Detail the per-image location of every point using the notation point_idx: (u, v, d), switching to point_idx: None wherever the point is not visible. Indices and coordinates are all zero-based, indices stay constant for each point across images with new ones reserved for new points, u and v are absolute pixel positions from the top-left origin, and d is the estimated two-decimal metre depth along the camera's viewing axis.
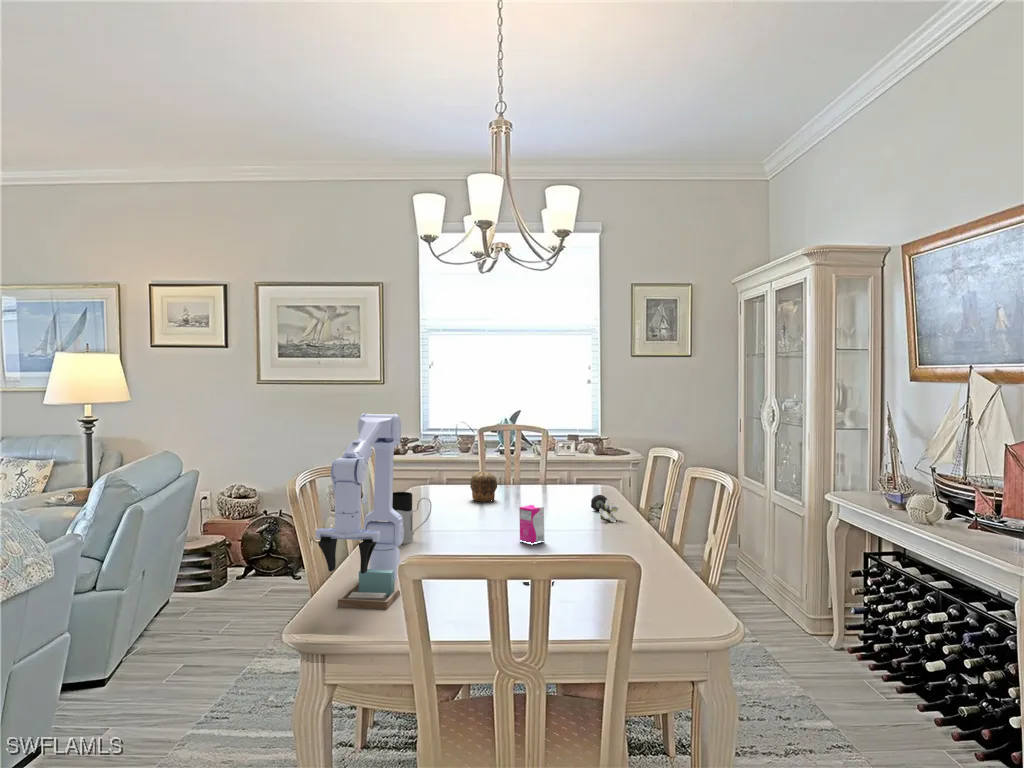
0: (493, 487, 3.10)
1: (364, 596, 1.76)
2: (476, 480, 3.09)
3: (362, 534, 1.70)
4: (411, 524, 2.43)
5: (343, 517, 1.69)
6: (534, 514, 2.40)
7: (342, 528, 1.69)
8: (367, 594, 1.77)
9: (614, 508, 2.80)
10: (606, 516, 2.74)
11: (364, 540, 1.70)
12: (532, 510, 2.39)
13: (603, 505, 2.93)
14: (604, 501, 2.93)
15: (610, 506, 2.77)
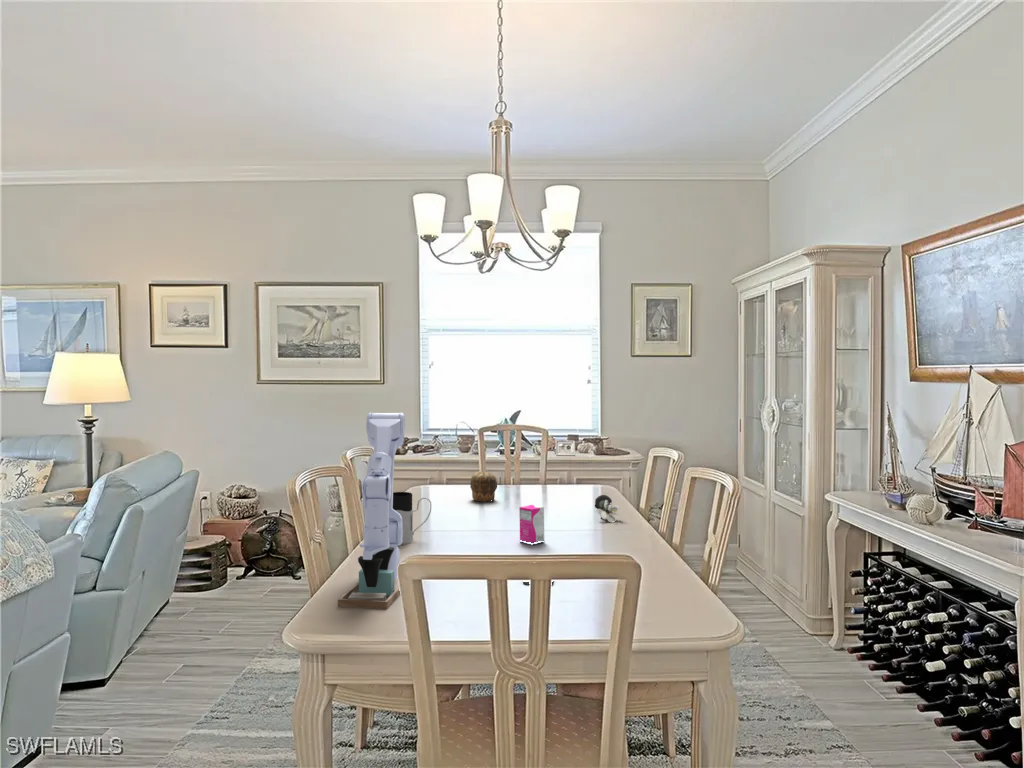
0: (493, 487, 3.10)
1: (364, 596, 1.75)
2: (476, 480, 3.09)
3: (364, 549, 1.80)
4: (411, 524, 2.43)
5: None
6: (534, 514, 2.40)
7: None
8: (367, 594, 1.77)
9: (614, 508, 2.79)
10: (604, 516, 2.74)
11: None
12: (532, 510, 2.39)
13: (607, 505, 2.93)
14: (608, 501, 2.93)
15: (609, 506, 2.77)
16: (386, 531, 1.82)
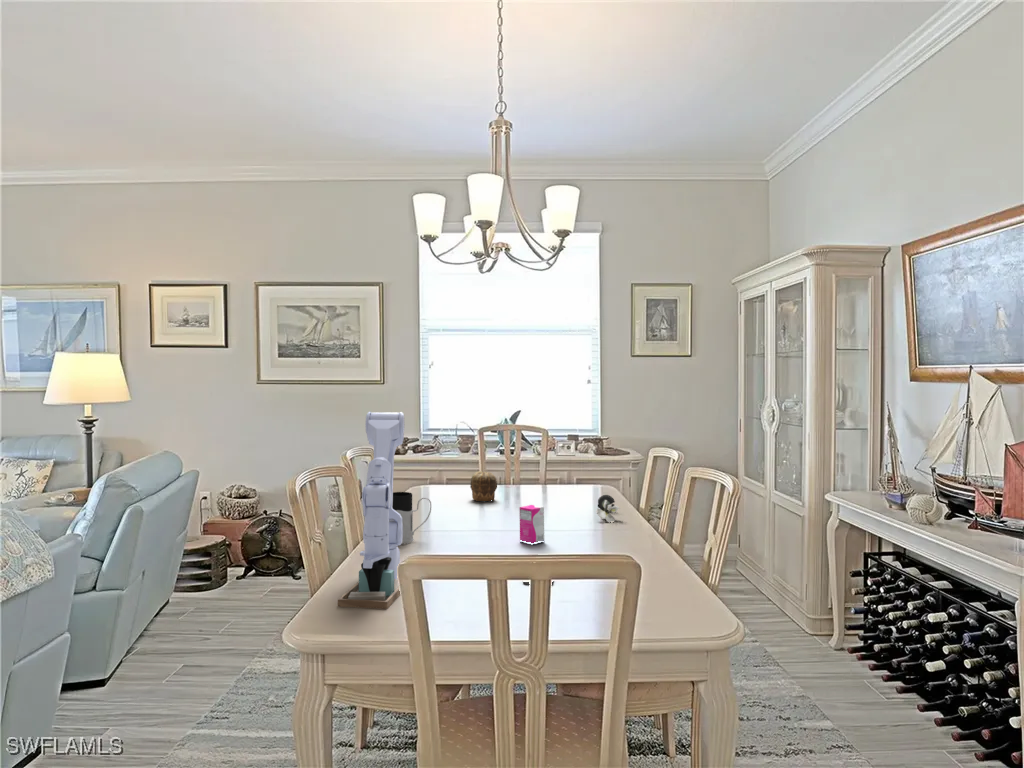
0: (493, 487, 3.10)
1: (364, 595, 1.76)
2: (476, 480, 3.09)
3: (364, 557, 1.80)
4: (411, 524, 2.43)
5: None
6: (534, 514, 2.40)
7: None
8: (367, 593, 1.77)
9: (614, 508, 2.79)
10: (603, 516, 2.74)
11: None
12: (532, 510, 2.39)
13: None
14: (610, 501, 2.93)
15: (608, 506, 2.77)
16: (386, 539, 1.83)
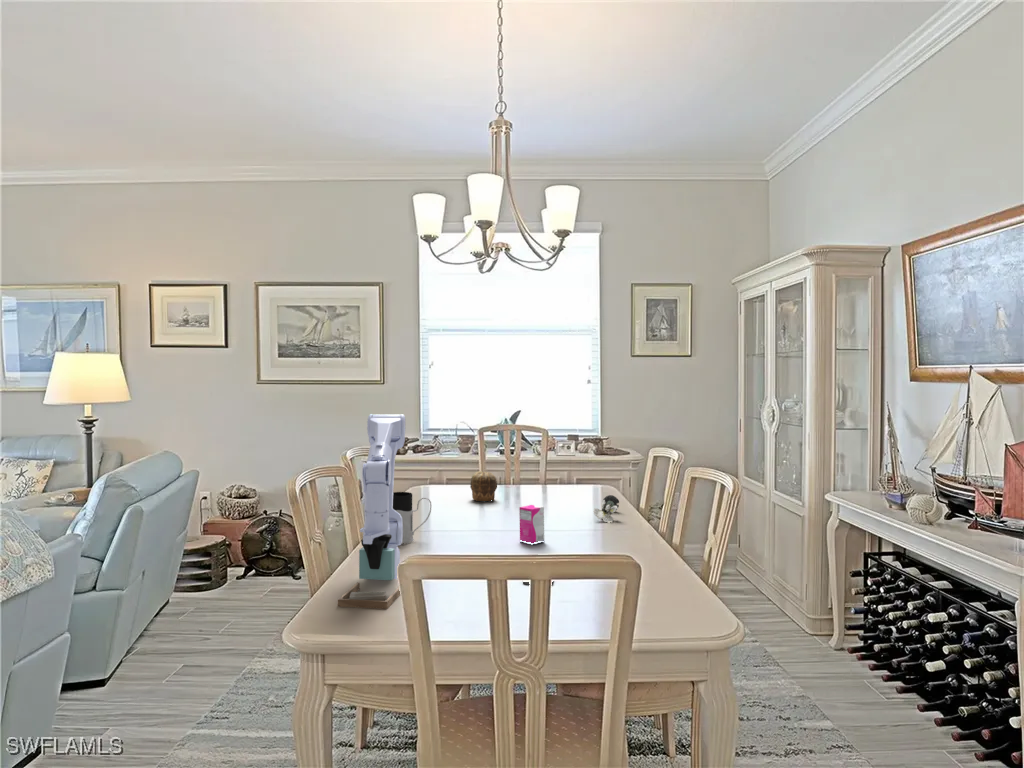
0: (493, 487, 3.10)
1: (365, 595, 1.76)
2: (476, 480, 3.09)
3: (364, 533, 1.80)
4: (411, 524, 2.43)
5: None
6: (534, 514, 2.40)
7: None
8: (367, 593, 1.77)
9: (613, 509, 2.79)
10: (600, 516, 2.75)
11: None
12: (532, 510, 2.39)
13: (613, 506, 2.92)
14: (614, 502, 2.92)
15: (607, 506, 2.77)
16: (386, 516, 1.82)
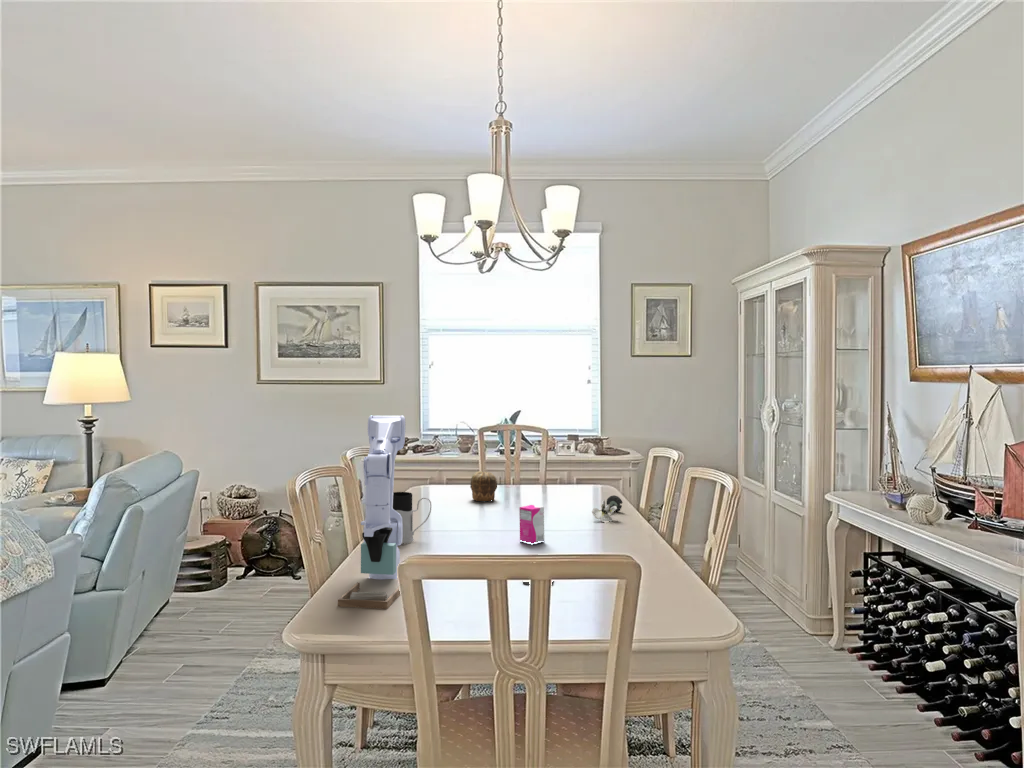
0: (493, 487, 3.10)
1: (366, 595, 1.76)
2: (476, 480, 3.09)
3: (365, 526, 1.80)
4: (411, 524, 2.43)
5: None
6: (534, 514, 2.40)
7: None
8: (368, 593, 1.77)
9: (612, 509, 2.79)
10: (598, 516, 2.75)
11: None
12: (532, 510, 2.39)
13: (617, 506, 2.92)
14: (617, 502, 2.92)
15: (606, 506, 2.77)
16: (387, 509, 1.83)
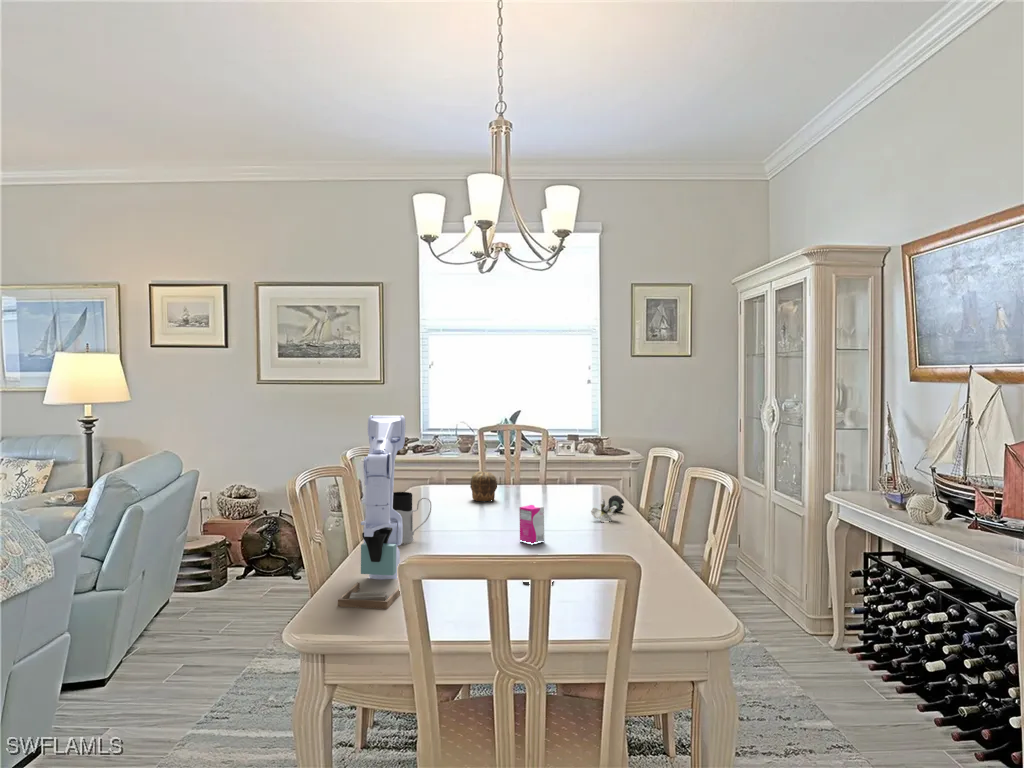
0: (493, 487, 3.10)
1: (365, 596, 1.76)
2: (476, 480, 3.09)
3: (365, 526, 1.80)
4: (411, 524, 2.43)
5: None
6: (534, 514, 2.40)
7: None
8: (368, 594, 1.77)
9: (612, 509, 2.78)
10: (597, 515, 2.75)
11: None
12: (532, 510, 2.39)
13: (618, 506, 2.92)
14: (619, 502, 2.91)
15: (605, 506, 2.77)
16: (387, 509, 1.83)
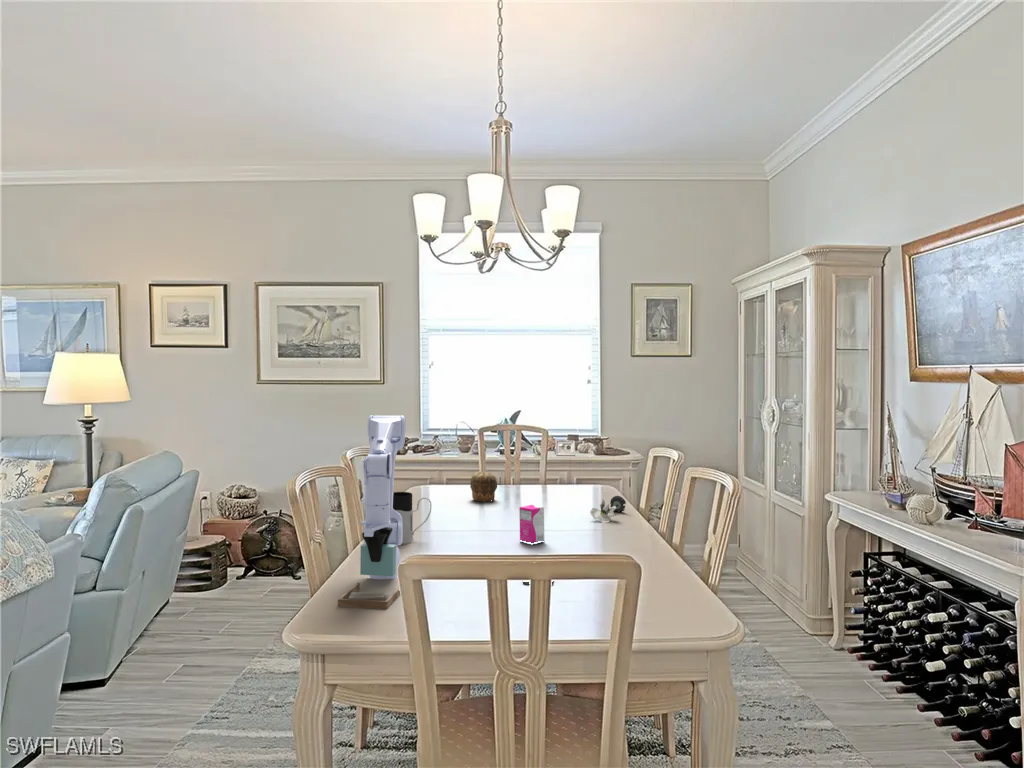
0: (493, 487, 3.10)
1: (365, 596, 1.76)
2: (476, 480, 3.09)
3: (365, 526, 1.80)
4: (411, 524, 2.43)
5: None
6: (534, 514, 2.40)
7: None
8: (367, 594, 1.77)
9: (612, 509, 2.78)
10: (596, 516, 2.75)
11: None
12: (532, 510, 2.39)
13: (620, 506, 2.91)
14: (621, 502, 2.91)
15: (604, 506, 2.77)
16: (387, 509, 1.83)
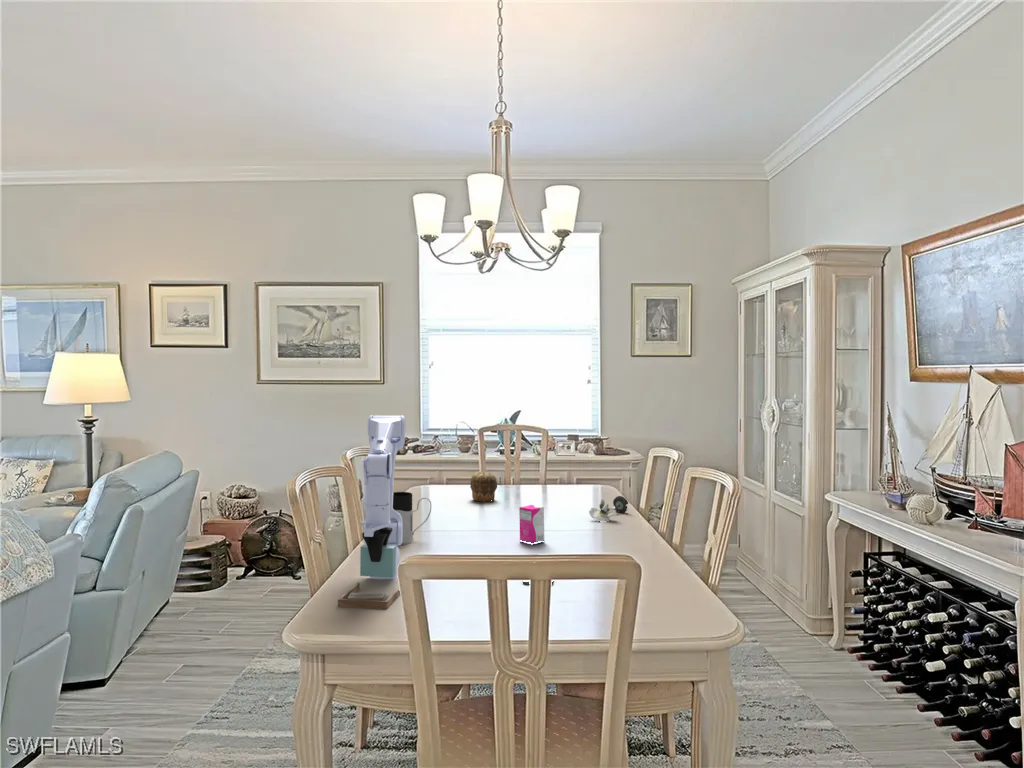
0: (493, 487, 3.10)
1: (364, 596, 1.76)
2: (476, 480, 3.09)
3: (365, 526, 1.80)
4: (411, 524, 2.43)
5: None
6: (534, 514, 2.40)
7: None
8: (366, 594, 1.77)
9: (611, 509, 2.78)
10: (595, 515, 2.76)
11: None
12: (532, 510, 2.39)
13: (622, 507, 2.91)
14: (623, 503, 2.90)
15: (603, 506, 2.77)
16: (387, 509, 1.83)
